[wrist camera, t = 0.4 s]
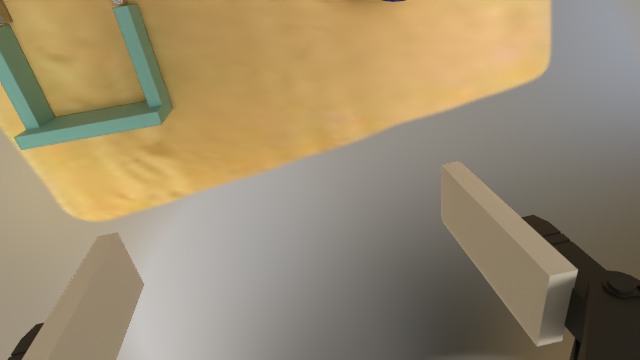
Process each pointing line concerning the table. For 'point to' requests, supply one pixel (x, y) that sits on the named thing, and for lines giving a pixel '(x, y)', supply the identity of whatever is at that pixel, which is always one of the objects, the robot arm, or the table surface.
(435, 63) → the table surface
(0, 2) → the track rails
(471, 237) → the robot arm
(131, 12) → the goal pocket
